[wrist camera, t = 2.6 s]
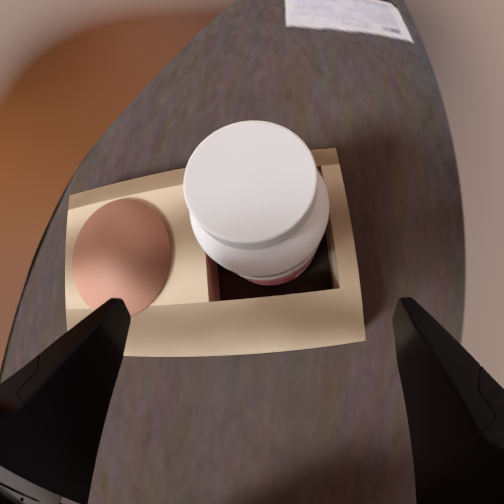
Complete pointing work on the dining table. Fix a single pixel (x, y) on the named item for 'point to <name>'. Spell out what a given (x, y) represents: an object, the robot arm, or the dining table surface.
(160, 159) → the dining table surface
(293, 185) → the pill bottle
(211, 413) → the dining table surface
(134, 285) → the board
